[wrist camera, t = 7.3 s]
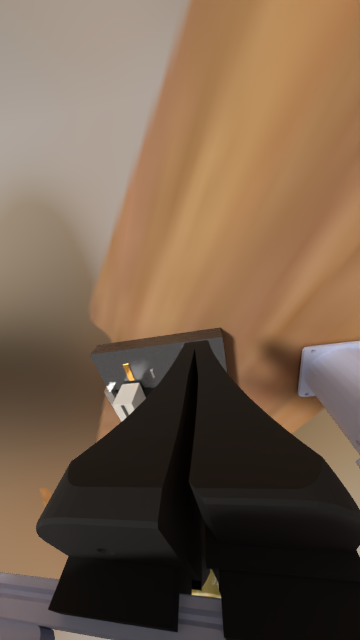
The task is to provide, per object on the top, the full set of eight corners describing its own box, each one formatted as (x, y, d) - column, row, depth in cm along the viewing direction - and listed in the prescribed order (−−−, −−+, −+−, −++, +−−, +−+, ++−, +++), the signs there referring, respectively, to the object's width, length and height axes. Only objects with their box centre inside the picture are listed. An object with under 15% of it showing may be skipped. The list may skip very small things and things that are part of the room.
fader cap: (139, 382, 22) (131, 404, 19) (148, 403, 23) (142, 426, 21) (122, 384, 22) (111, 405, 19) (132, 405, 24) (123, 427, 21)
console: (220, 327, 20) (224, 344, 17) (230, 407, 26) (235, 430, 23) (97, 345, 23) (82, 362, 20) (132, 414, 28) (124, 435, 25)
